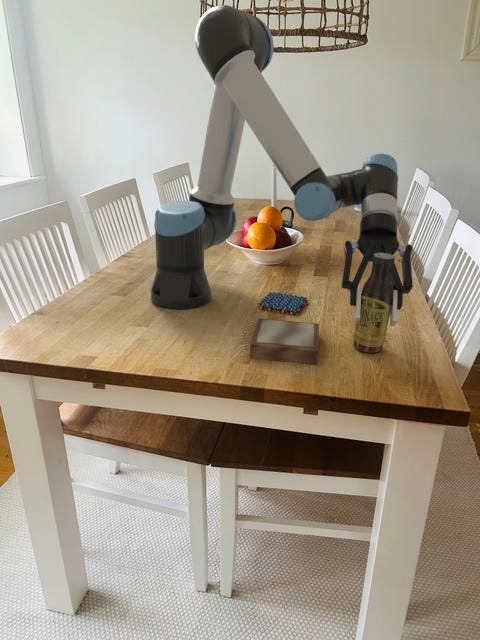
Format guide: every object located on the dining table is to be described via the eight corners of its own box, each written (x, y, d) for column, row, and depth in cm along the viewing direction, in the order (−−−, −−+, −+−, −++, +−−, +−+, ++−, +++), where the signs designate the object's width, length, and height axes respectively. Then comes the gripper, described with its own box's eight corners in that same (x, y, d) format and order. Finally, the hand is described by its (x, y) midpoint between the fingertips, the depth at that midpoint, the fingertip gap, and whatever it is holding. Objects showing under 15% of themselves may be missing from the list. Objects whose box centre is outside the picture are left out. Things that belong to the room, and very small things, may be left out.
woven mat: (298, 318, 116) (299, 310, 115) (256, 311, 119) (256, 303, 118) (309, 303, 125) (310, 296, 124) (270, 297, 128) (270, 290, 127)
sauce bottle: (347, 348, 101) (358, 255, 93) (360, 338, 105) (372, 248, 97) (377, 358, 97) (391, 261, 89) (389, 347, 102) (404, 254, 94)
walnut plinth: (249, 358, 95) (250, 343, 94) (257, 330, 107) (258, 317, 106) (316, 364, 94) (318, 349, 93) (317, 336, 106) (318, 322, 104)
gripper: (420, 233, 105) (421, 333, 97) (330, 227, 108) (324, 324, 100) (430, 213, 98) (431, 319, 90) (334, 207, 101) (326, 310, 93)
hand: (375, 321), depth 95 cm, fingers closed on sauce bottle, 6 cm apart
